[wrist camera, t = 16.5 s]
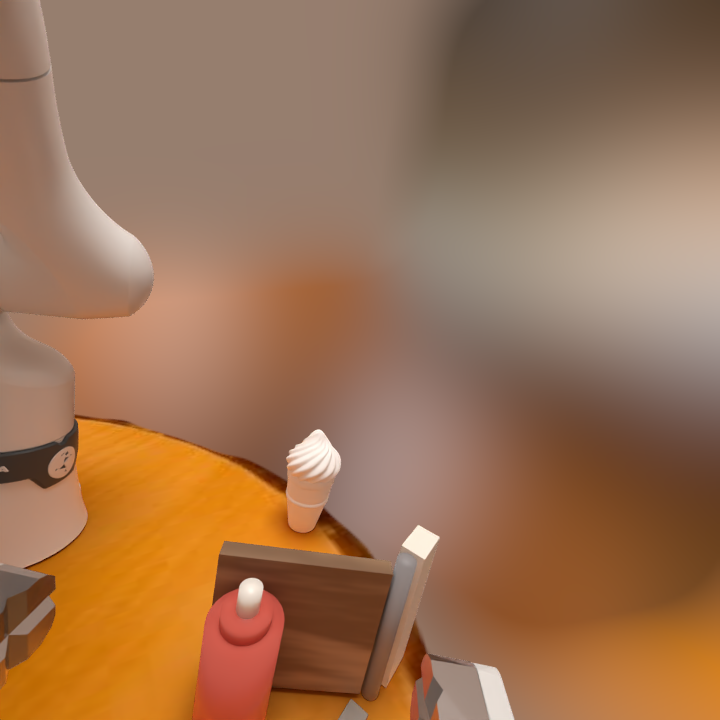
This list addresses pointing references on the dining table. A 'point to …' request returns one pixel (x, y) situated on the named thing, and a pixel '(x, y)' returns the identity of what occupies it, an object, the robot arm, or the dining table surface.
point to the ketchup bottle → (239, 654)
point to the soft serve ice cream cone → (310, 480)
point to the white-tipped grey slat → (396, 616)
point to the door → (314, 610)
